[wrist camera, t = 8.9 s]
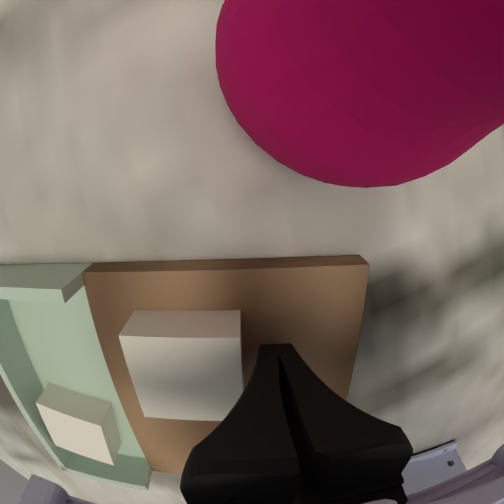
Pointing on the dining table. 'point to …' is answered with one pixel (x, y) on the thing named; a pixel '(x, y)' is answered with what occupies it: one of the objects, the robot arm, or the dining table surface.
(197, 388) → the tile
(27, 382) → the tray
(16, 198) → the dining table surface
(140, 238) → the dining table surface
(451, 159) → the pepper mill
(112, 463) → the tile
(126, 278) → the board
